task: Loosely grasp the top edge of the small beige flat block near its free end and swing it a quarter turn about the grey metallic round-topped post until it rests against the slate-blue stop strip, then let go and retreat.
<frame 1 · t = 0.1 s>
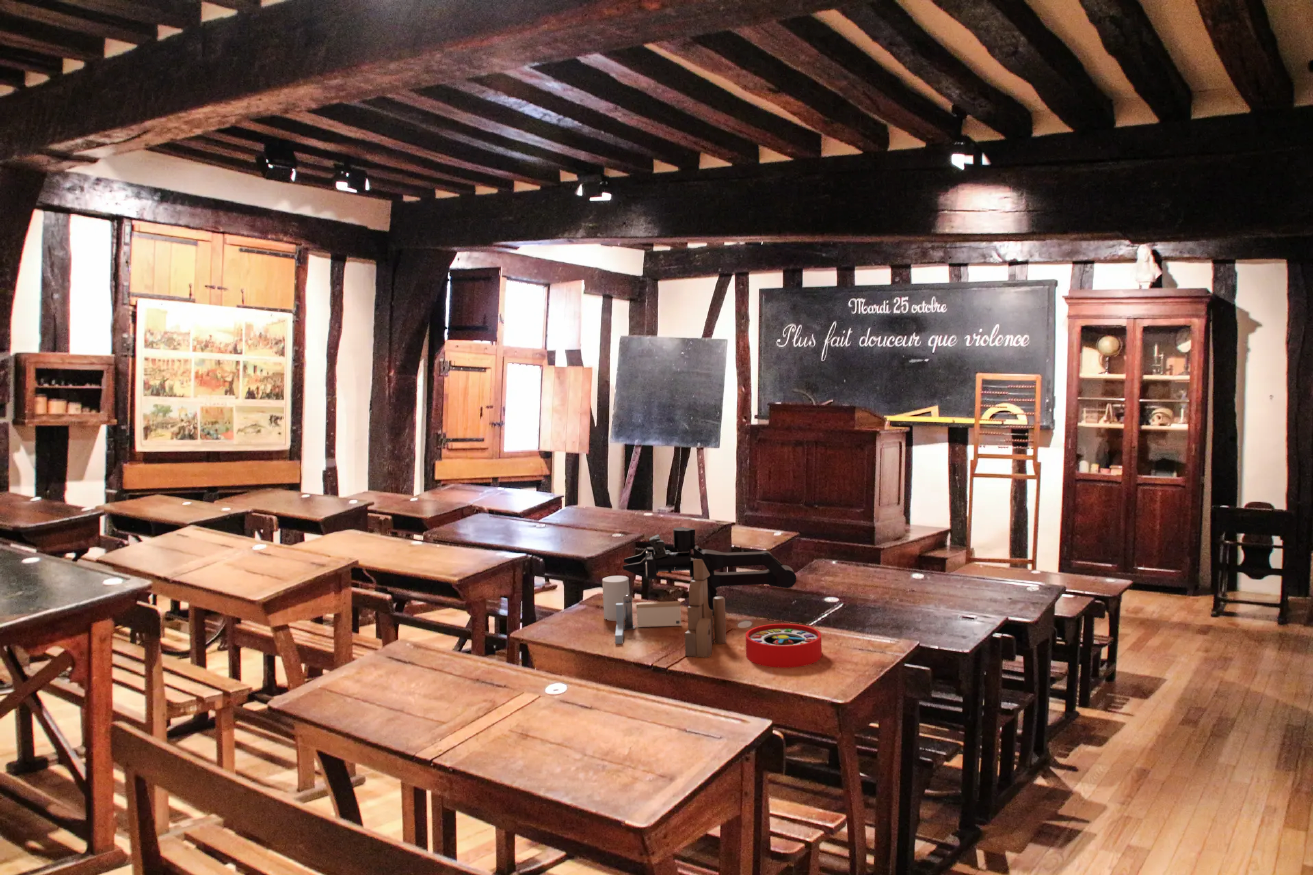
hand: (623, 563, 300), 17 cm above the table, tool horizontal, fingers open, 9 cm apart
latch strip: (619, 637, 281), on the table
wooden toy: (706, 649, 268), on the table
off-white flat-topped cylinder: (617, 617, 302), on the table
toy clock: (783, 656, 260), on the table
beige flat block: (658, 614, 290), point 4 cm above the table, hinge at 0.0°
grey metallic round-topped post: (629, 627, 290), on the table
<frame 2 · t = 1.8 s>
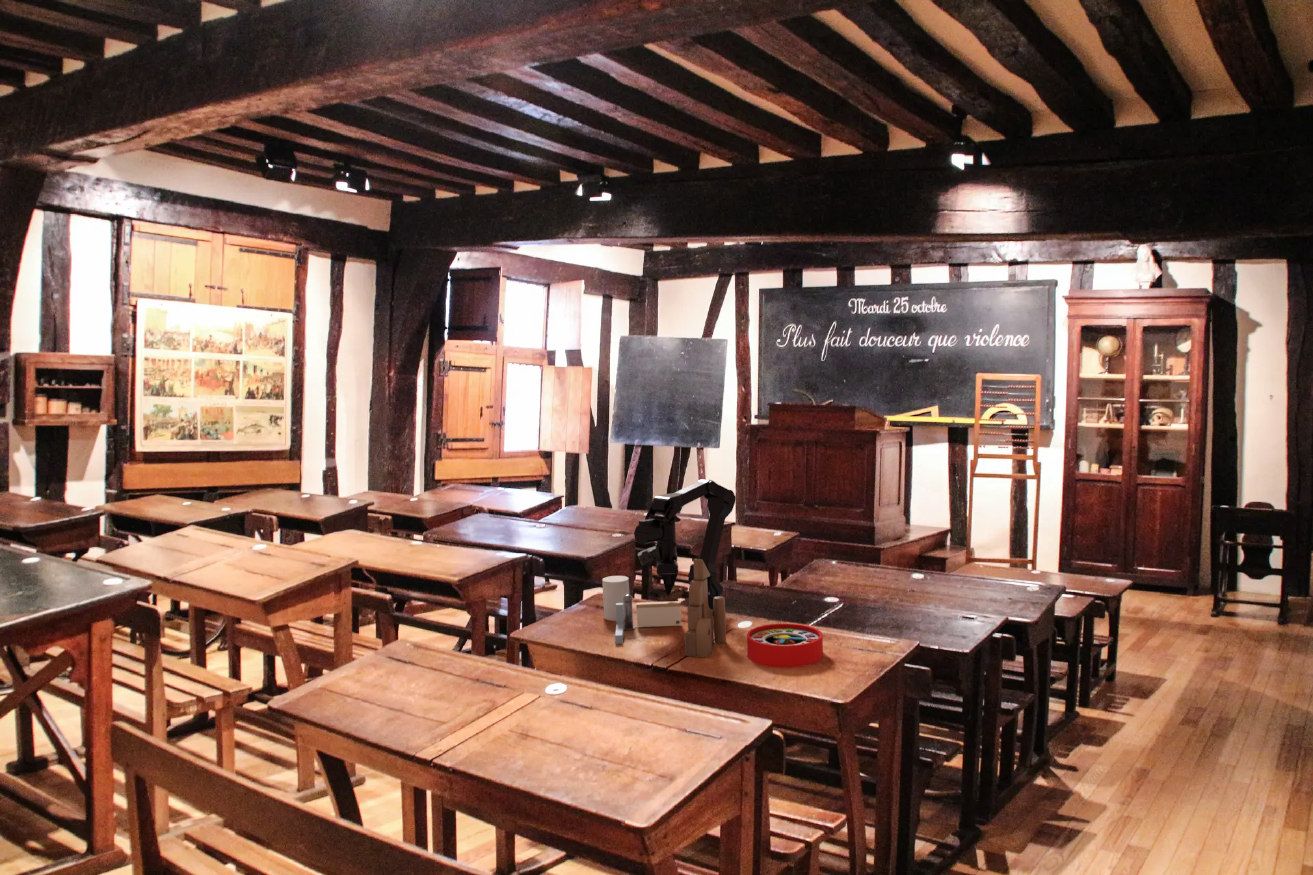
hand: (668, 590, 289), 11 cm above the table, tool pointing down, fingers open, 9 cm apart
nothing on the table moved.
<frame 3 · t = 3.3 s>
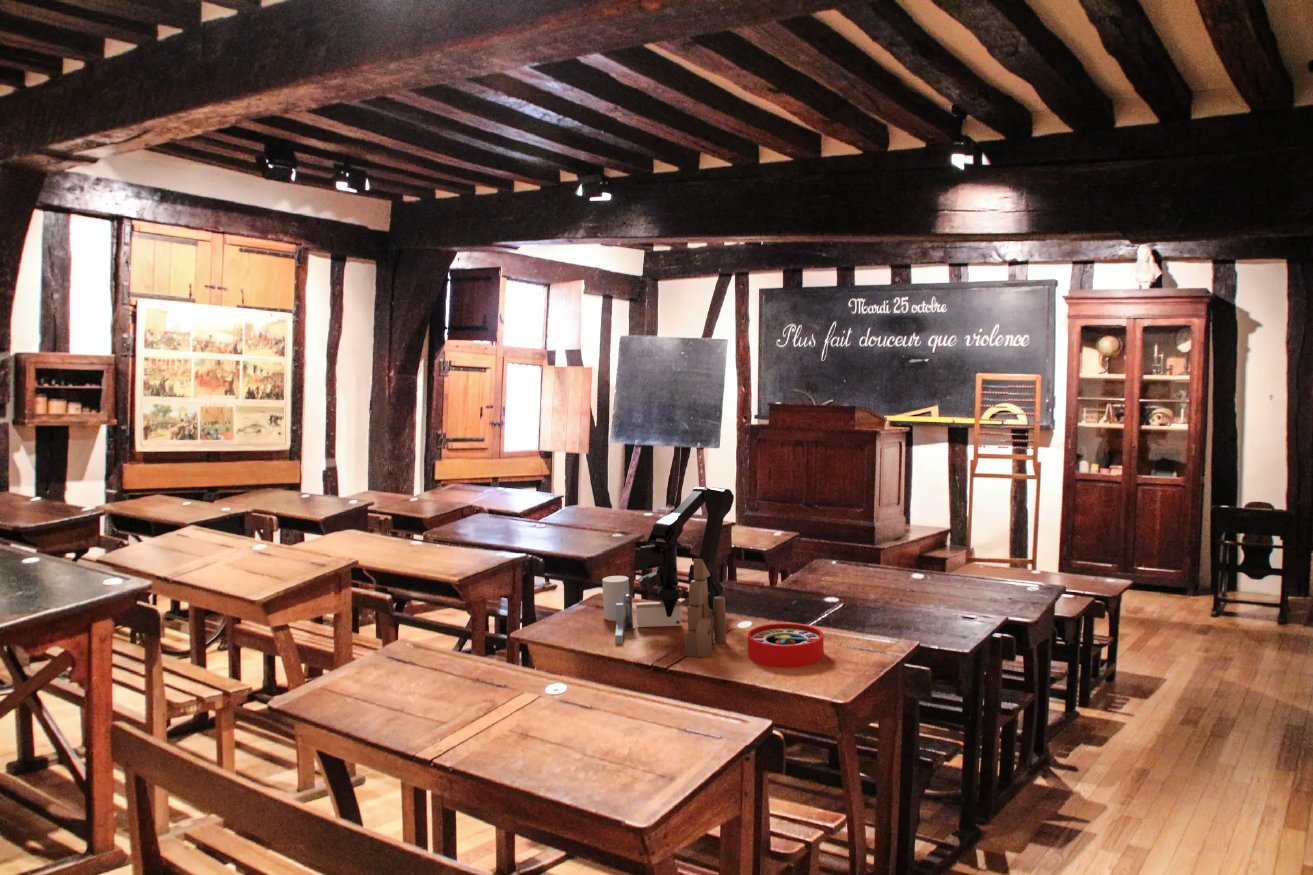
hand: (669, 615, 290), 3 cm above the table, tool pointing down, fingers closed on beige flat block, 2 cm apart
beige flat block: (658, 614, 290), point 4 cm above the table, hinge at 0.0°, touching gripper
everything else where it was.
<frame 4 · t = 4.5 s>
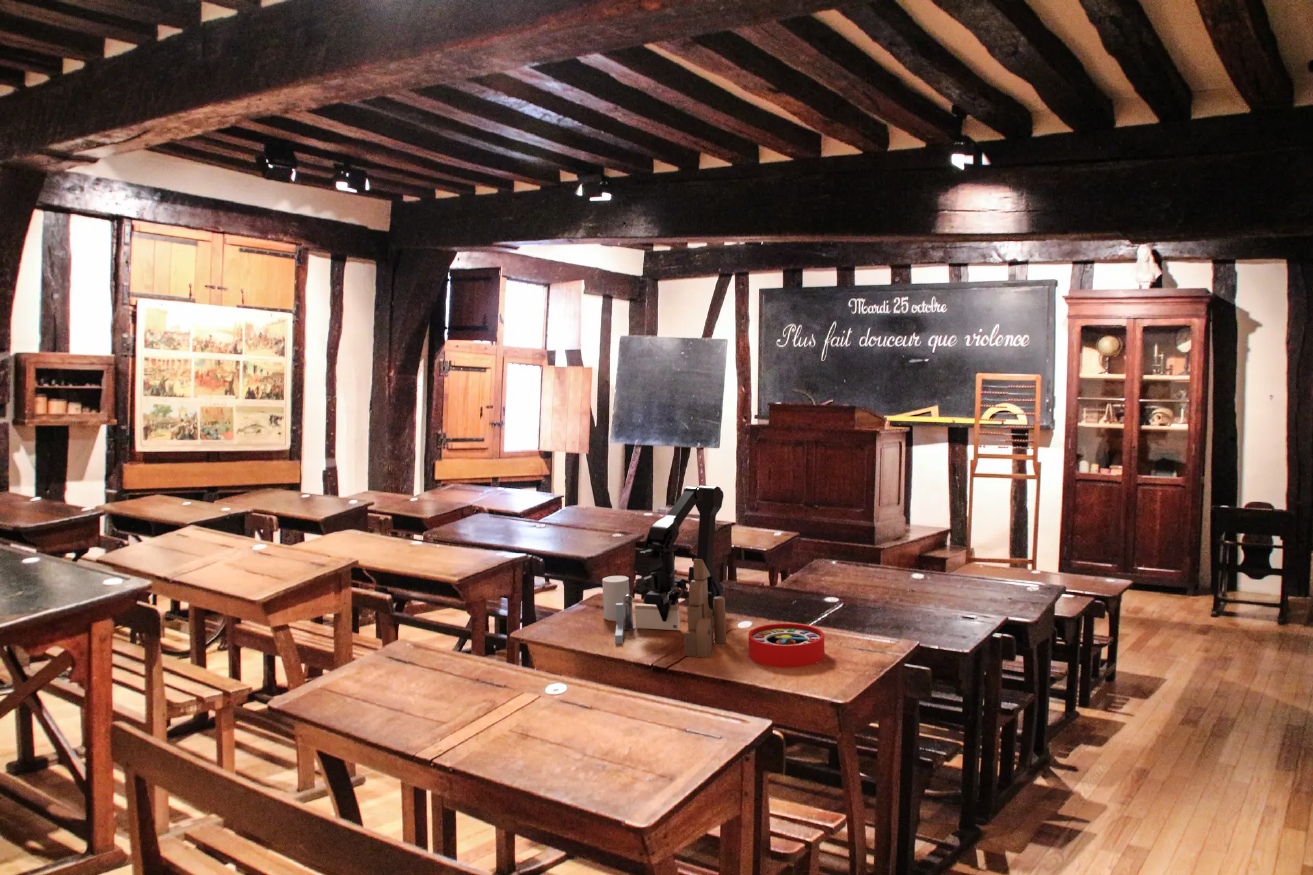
hand: (666, 619, 286), 3 cm above the table, tool pointing down, fingers open, 3 cm apart
beige flat block: (657, 616, 287), point 4 cm above the table, hinge at -17.3°, touching gripper
everything else where it was.
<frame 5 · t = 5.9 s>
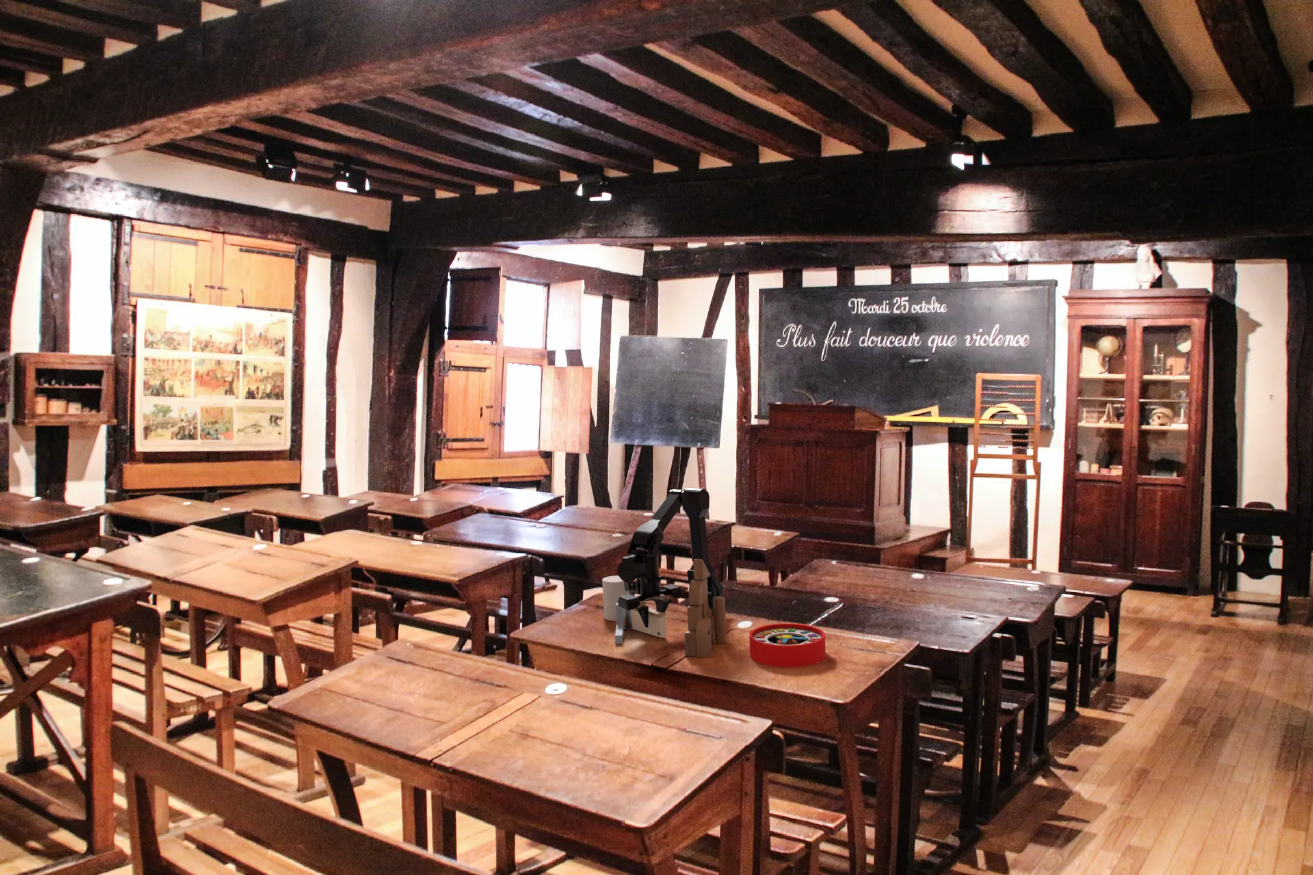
hand: (652, 625, 281), 3 cm above the table, tool pointing down, fingers open, 4 cm apart
beige flat block: (648, 620, 283), point 4 cm above the table, hinge at -48.9°, touching gripper
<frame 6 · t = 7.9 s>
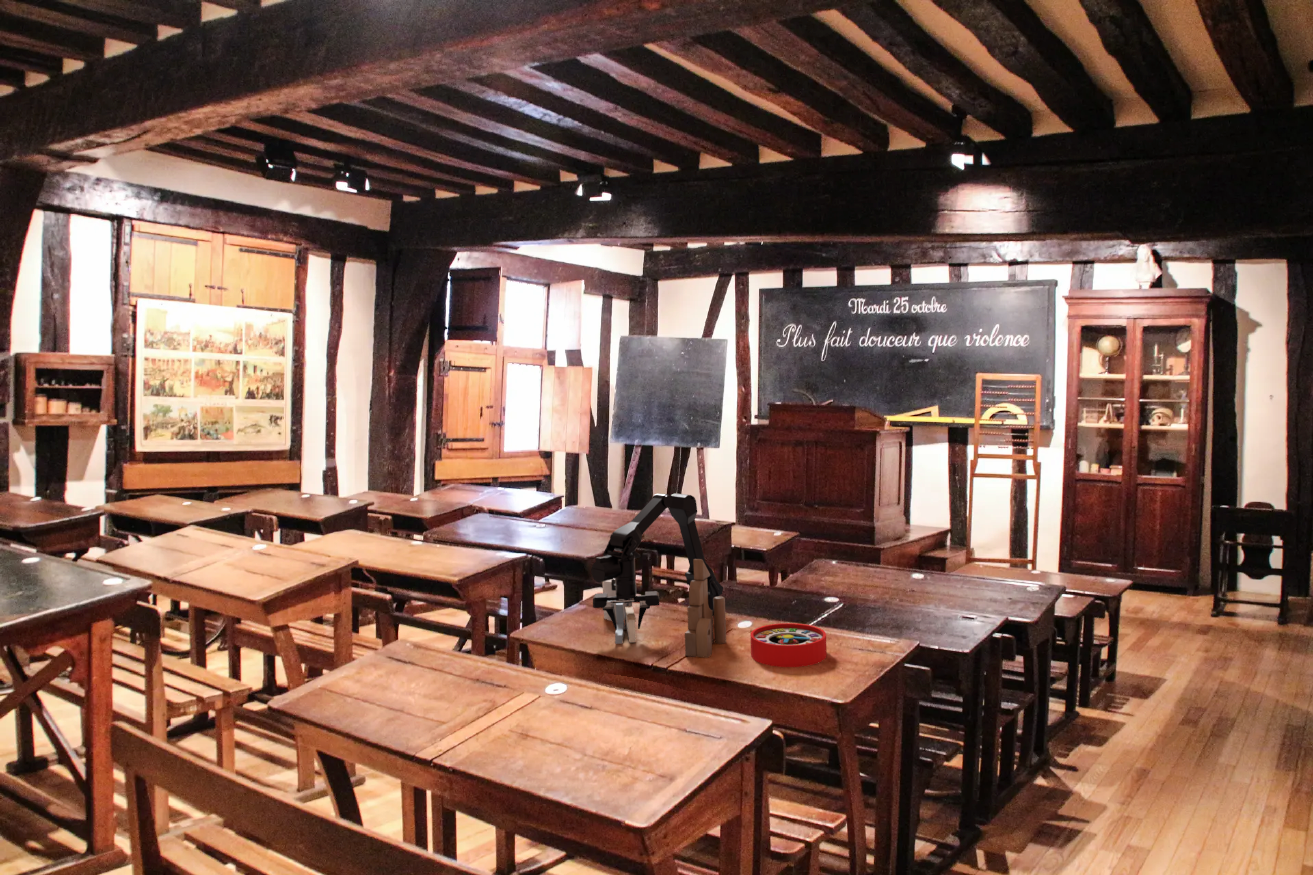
hand: (627, 629, 278), 3 cm above the table, tool pointing down, fingers open, 6 cm apart
beige flat block: (630, 623, 281), point 4 cm above the table, hinge at -84.4°
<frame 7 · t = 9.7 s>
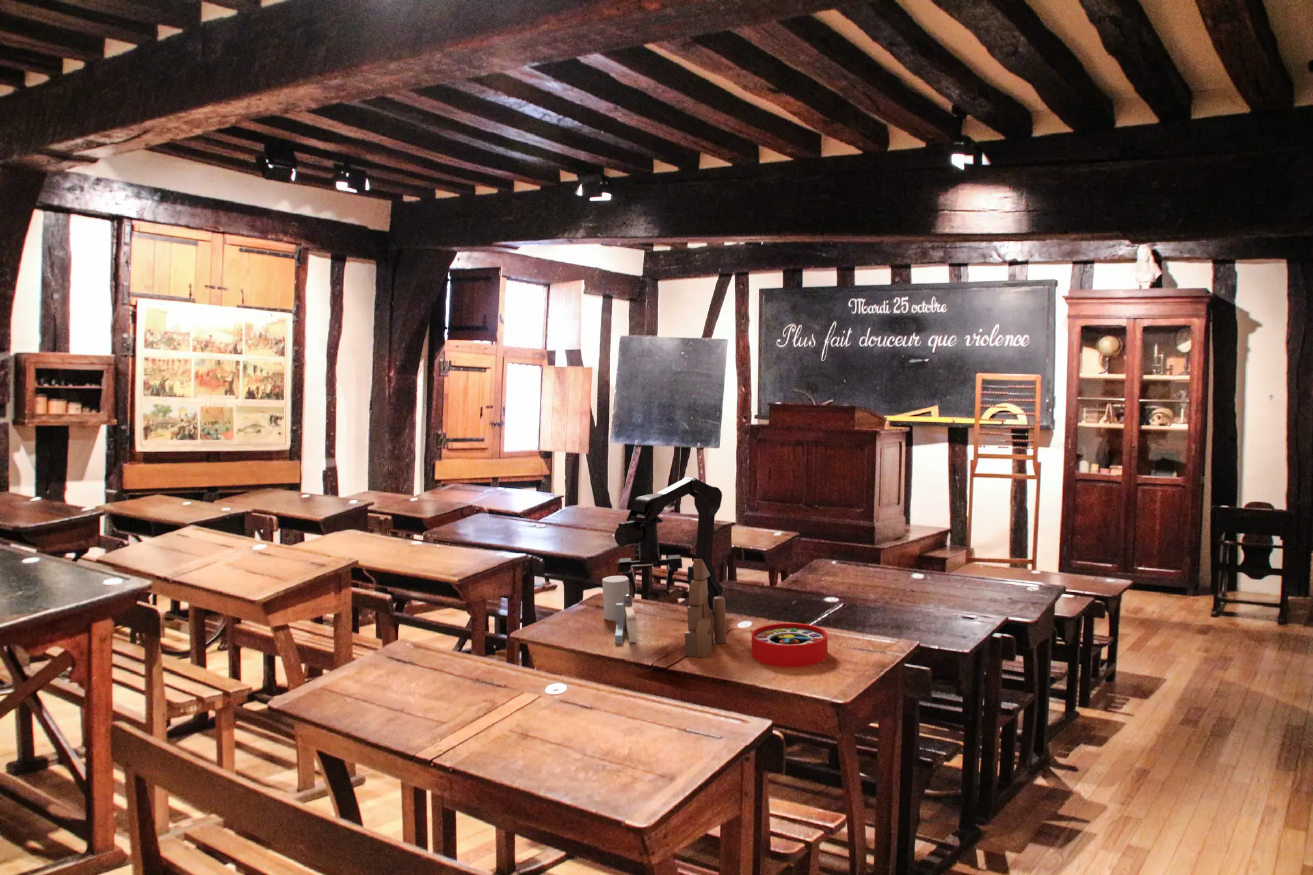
hand: (651, 592, 286), 11 cm above the table, tool pointing down, fingers open, 9 cm apart
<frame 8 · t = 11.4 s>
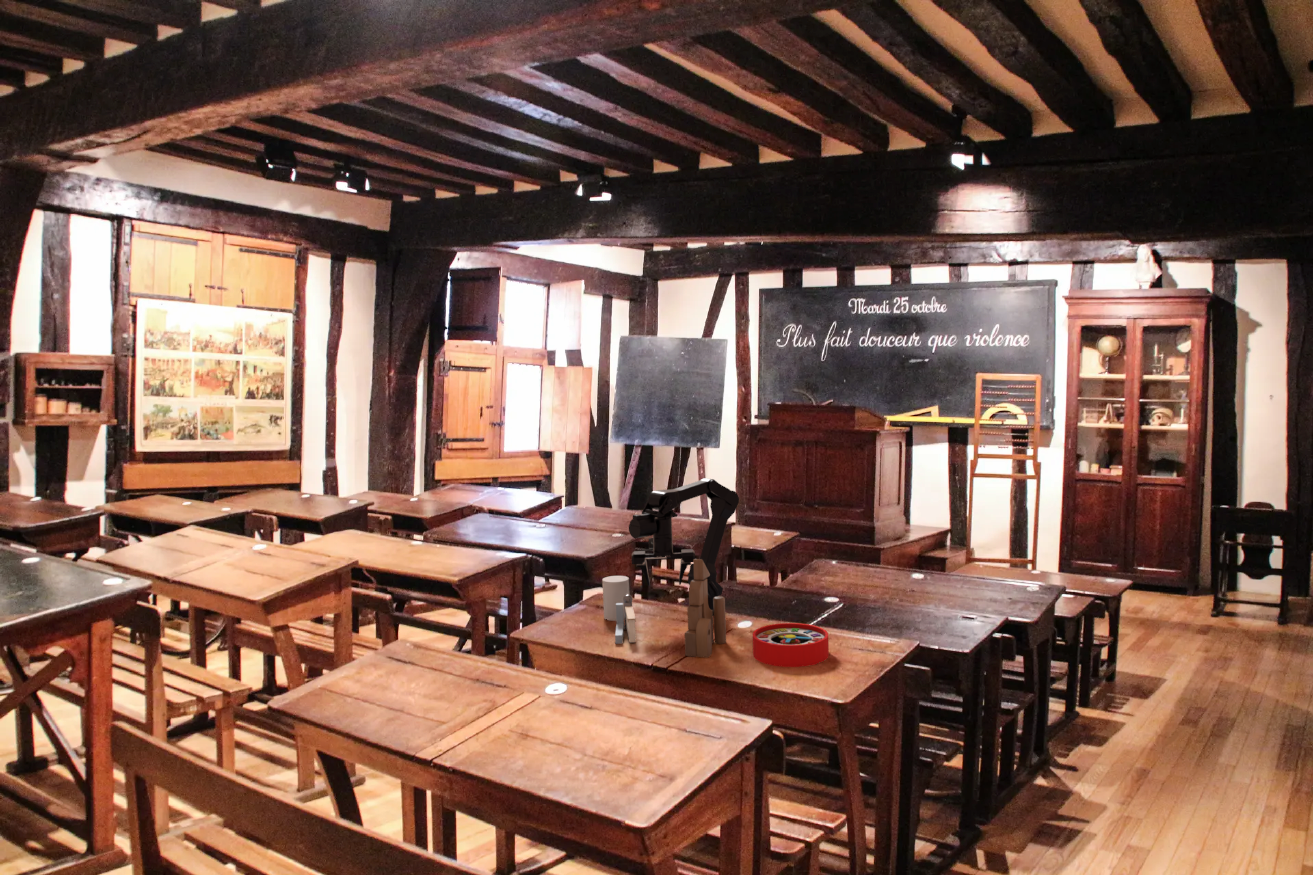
hand: (664, 585, 291), 12 cm above the table, tool pointing down, fingers open, 9 cm apart
at the end: beige flat block at -84° (first picture: +0°); the gripper is holding nothing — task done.
